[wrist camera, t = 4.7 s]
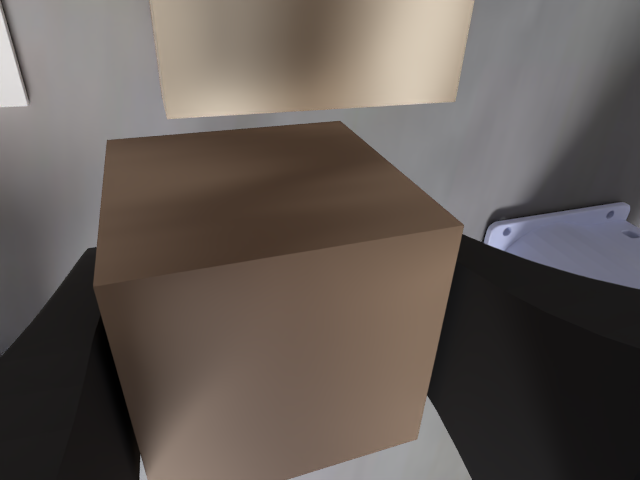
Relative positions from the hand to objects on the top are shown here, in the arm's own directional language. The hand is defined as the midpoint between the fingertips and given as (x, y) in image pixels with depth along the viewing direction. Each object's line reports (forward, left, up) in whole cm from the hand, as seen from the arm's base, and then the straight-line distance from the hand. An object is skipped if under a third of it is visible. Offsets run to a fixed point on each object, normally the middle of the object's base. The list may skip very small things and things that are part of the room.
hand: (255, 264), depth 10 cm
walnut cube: (0, 0, -2) cm, 2 cm away
